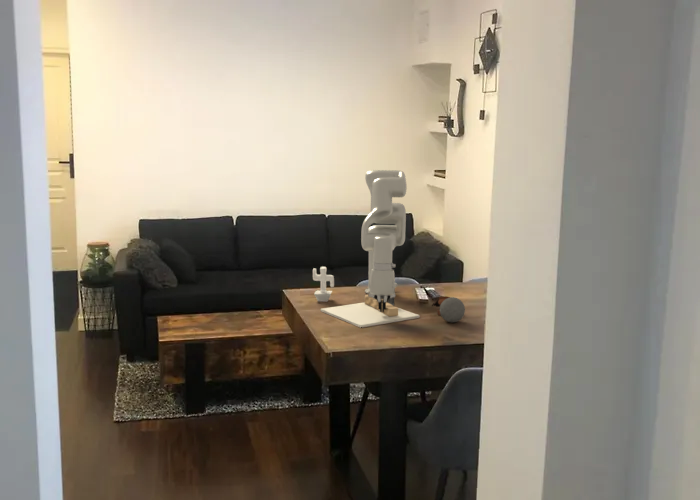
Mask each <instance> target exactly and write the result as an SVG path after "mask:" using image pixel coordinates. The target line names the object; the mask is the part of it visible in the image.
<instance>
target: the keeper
mask: <svg viewBox="0 0 700 500" xmlns="http://www.w3.org/2000/svg"><path fill="white" fill-rule="evenodd" d="M380 297H381V299H382V300H383V299H384V295H380ZM374 299H375V298H374ZM387 303H389V304H391V305H393V306H395V297H393V298H390V299H388V300H387Z"/></svg>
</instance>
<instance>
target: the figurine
mask: <svg viewBox="0 0 700 500" xmlns="http://www.w3.org/2000/svg"><path fill="white" fill-rule="evenodd" d="M327 270H328V269H327V267H326V266H320V268H319V272H320V274H318V273H317V268H314V267H313V269H312V280H313V281H314V282H315V281H316V282H320V289H319V290H315V292H314V294H313V295H314V297H315V298H316V301H317V302H325V303H326V302H327V303H328V302H329V300H330V298H331V294H332V293H333V290H327V282H329V286H330V288H334V287H335V278H334V277H335V276H334V275H332V274H327Z"/></svg>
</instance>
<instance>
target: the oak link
mask: <svg viewBox="0 0 700 500" xmlns="http://www.w3.org/2000/svg"><path fill="white" fill-rule="evenodd" d="M369 293H370V291H368V294H365V295H364V302H365V304H367V305H370V306H372V307H374V308H375V309H377V310H379V311H380V309H378V301H377V300H376V299H374V298H373V297H369ZM381 300H382V301H383V299H381ZM398 308H399V307H397V306H395V305H394V306H393V305H391V304H389V303H387V302H386V310H384V312H382V313H384V314H386V315H388V316H397V315H398Z"/></svg>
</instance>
